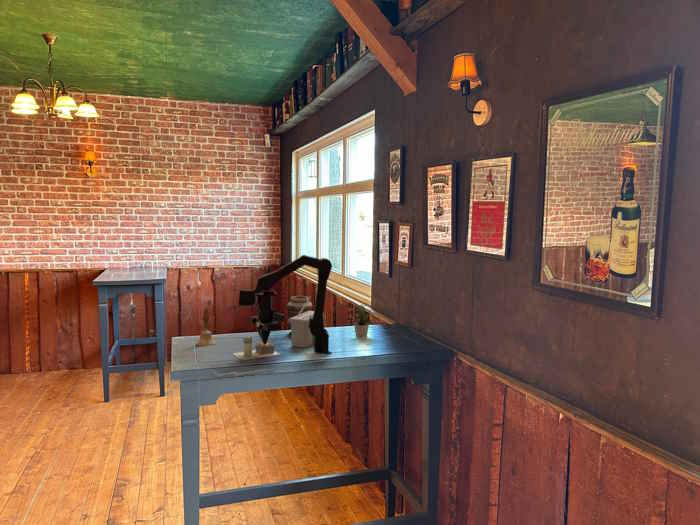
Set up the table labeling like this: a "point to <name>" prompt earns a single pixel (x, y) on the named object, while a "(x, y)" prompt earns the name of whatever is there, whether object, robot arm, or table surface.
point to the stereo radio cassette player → (301, 329)
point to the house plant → (361, 322)
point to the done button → (264, 344)
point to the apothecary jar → (298, 306)
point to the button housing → (264, 349)
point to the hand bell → (205, 332)
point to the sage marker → (247, 346)
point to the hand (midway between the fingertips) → (264, 343)
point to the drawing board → (254, 355)
